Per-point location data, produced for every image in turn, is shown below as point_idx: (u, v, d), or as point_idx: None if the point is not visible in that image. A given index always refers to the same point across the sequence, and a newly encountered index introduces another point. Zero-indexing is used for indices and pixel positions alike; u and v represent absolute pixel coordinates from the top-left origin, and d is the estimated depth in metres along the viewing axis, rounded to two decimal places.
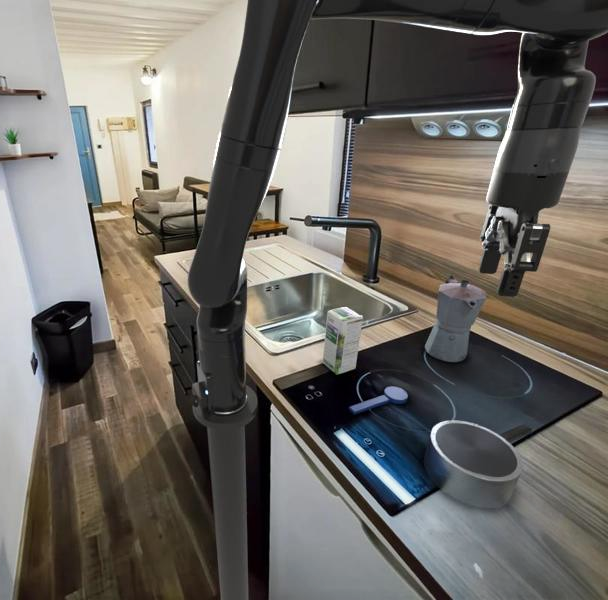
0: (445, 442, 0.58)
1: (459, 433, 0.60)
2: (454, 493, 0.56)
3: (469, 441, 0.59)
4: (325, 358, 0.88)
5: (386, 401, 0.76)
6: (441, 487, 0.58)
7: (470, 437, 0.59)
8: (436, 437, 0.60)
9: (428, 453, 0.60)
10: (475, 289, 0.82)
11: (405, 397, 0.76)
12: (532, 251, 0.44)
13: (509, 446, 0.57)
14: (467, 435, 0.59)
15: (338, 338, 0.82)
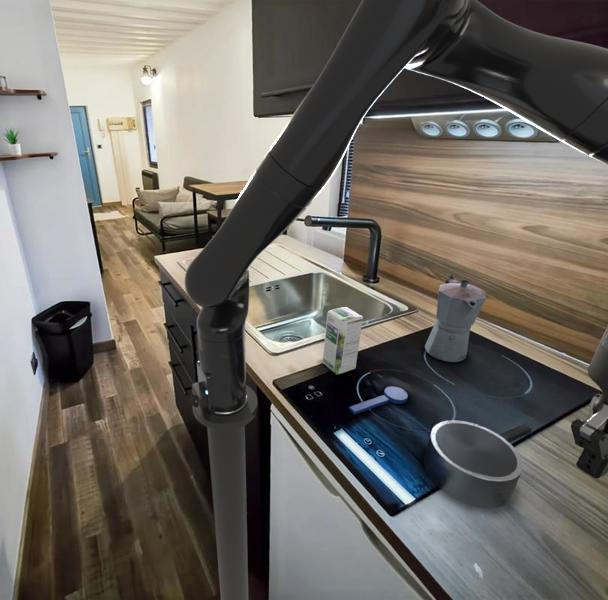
0: (445, 442, 0.58)
1: (459, 433, 0.60)
2: (454, 493, 0.56)
3: (469, 441, 0.59)
4: (325, 358, 0.88)
5: (386, 401, 0.76)
6: (441, 487, 0.58)
7: (470, 437, 0.59)
8: (436, 437, 0.60)
9: (428, 453, 0.60)
10: (475, 289, 0.82)
11: (405, 397, 0.76)
12: (588, 445, 0.40)
13: (509, 446, 0.57)
14: (467, 435, 0.59)
15: (338, 338, 0.82)
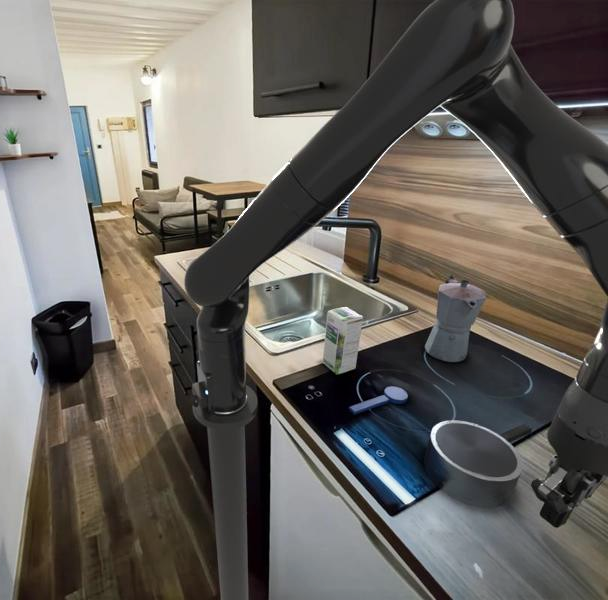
0: (445, 442, 0.58)
1: (459, 433, 0.60)
2: (454, 493, 0.56)
3: (469, 441, 0.59)
4: (325, 358, 0.88)
5: (386, 401, 0.76)
6: (441, 487, 0.58)
7: (470, 437, 0.59)
8: (436, 437, 0.60)
9: (428, 453, 0.60)
10: (475, 289, 0.82)
11: (405, 397, 0.76)
12: (546, 501, 0.45)
13: (509, 446, 0.57)
14: (467, 435, 0.59)
15: (338, 338, 0.82)
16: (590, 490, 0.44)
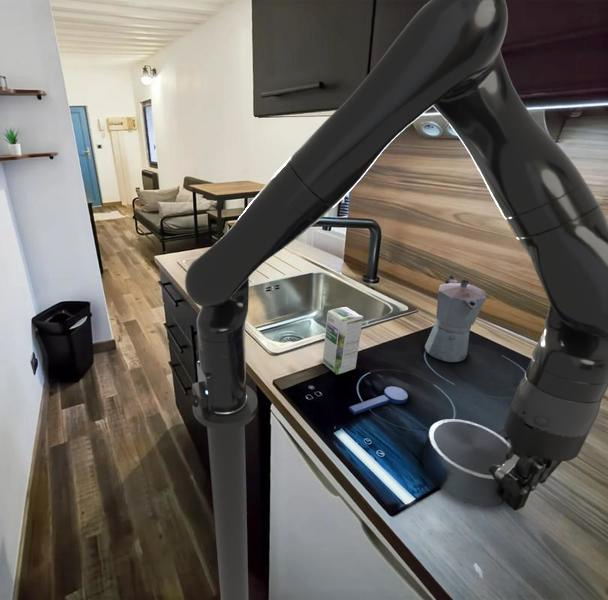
0: (443, 441, 0.59)
1: (457, 432, 0.60)
2: (453, 492, 0.56)
3: (467, 440, 0.59)
4: (325, 358, 0.88)
5: (386, 401, 0.76)
6: (440, 486, 0.58)
7: (468, 435, 0.60)
8: (434, 435, 0.60)
9: (426, 452, 0.60)
10: (475, 289, 0.82)
11: (405, 397, 0.76)
12: (503, 485, 0.49)
13: (506, 444, 0.57)
14: (465, 434, 0.60)
15: (338, 338, 0.82)
16: (542, 475, 0.49)
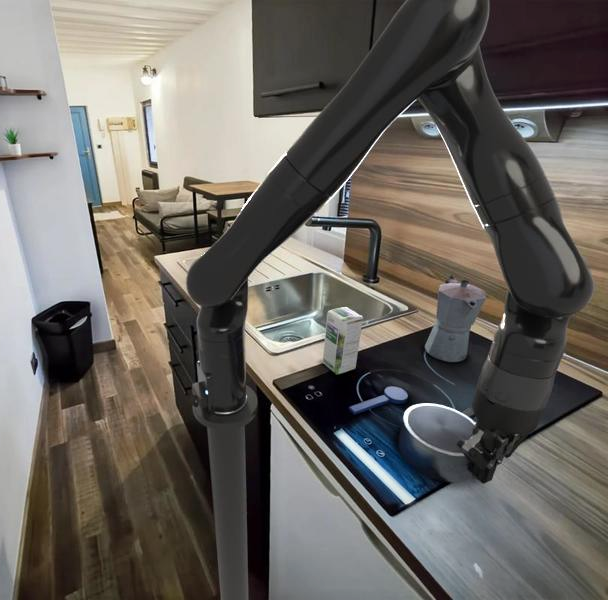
0: (417, 425, 0.62)
1: (428, 415, 0.64)
2: (429, 472, 0.60)
3: (438, 421, 0.63)
4: (325, 358, 0.88)
5: (386, 401, 0.76)
6: (416, 467, 0.61)
7: (438, 417, 0.63)
8: (409, 420, 0.63)
9: (402, 437, 0.64)
10: (475, 289, 0.82)
11: (405, 397, 0.76)
12: (470, 459, 0.53)
13: (472, 423, 0.62)
14: (435, 416, 0.64)
15: (338, 338, 0.82)
16: (506, 449, 0.53)
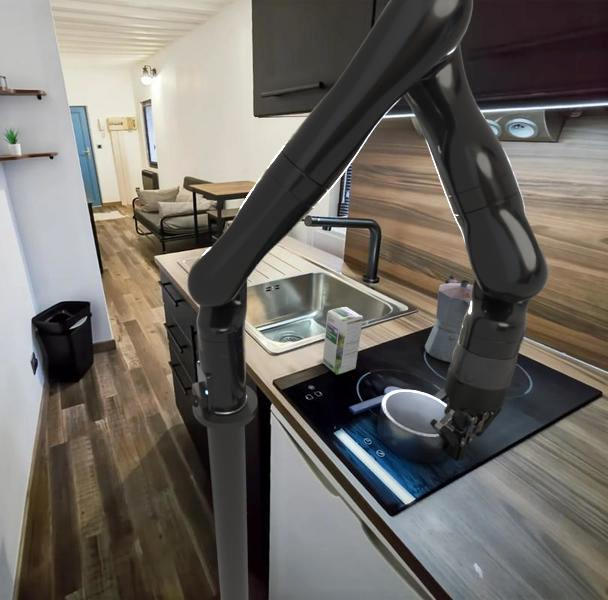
0: (395, 410, 0.65)
1: (404, 400, 0.68)
2: (408, 454, 0.63)
3: (413, 406, 0.66)
4: (325, 358, 0.88)
5: None
6: (396, 451, 0.64)
7: (413, 402, 0.67)
8: (387, 407, 0.67)
9: (381, 423, 0.67)
10: None
11: None
12: (443, 437, 0.57)
13: (444, 405, 0.66)
14: (410, 401, 0.67)
15: (338, 338, 0.82)
16: (476, 427, 0.57)
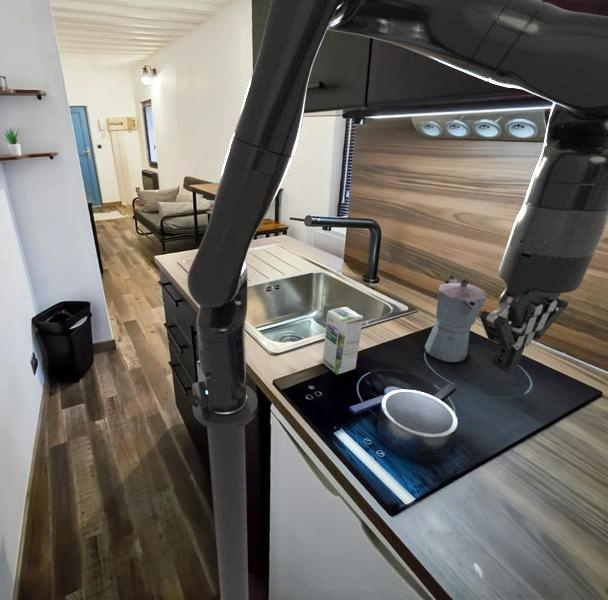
0: (394, 410, 0.65)
1: (404, 400, 0.68)
2: (408, 454, 0.63)
3: (413, 406, 0.66)
4: (325, 358, 0.88)
5: None
6: (396, 451, 0.64)
7: (413, 402, 0.67)
8: (386, 407, 0.67)
9: (381, 423, 0.67)
10: (475, 289, 0.82)
11: None
12: (495, 334, 0.45)
13: (443, 405, 0.66)
14: (410, 401, 0.67)
15: (338, 338, 0.82)
16: (538, 323, 0.45)
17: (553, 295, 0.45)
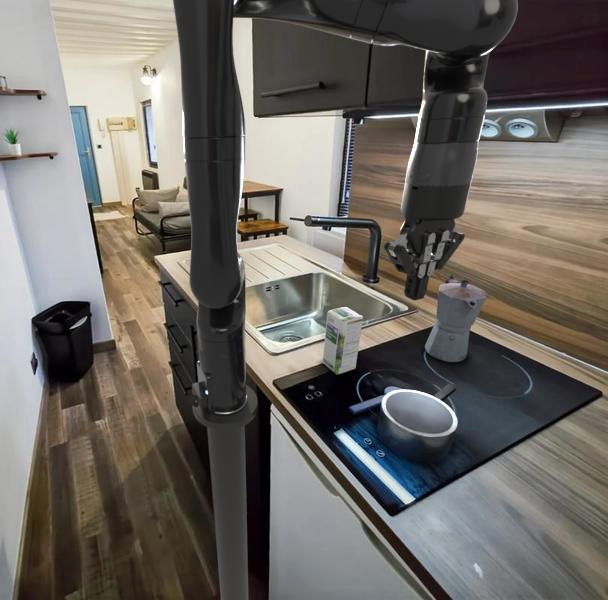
0: (394, 410, 0.65)
1: (404, 400, 0.68)
2: (408, 454, 0.63)
3: (413, 406, 0.66)
4: (325, 358, 0.88)
5: None
6: (396, 451, 0.64)
7: (413, 402, 0.67)
8: (386, 407, 0.67)
9: (381, 423, 0.67)
10: (475, 289, 0.82)
11: None
12: (398, 264, 0.51)
13: (443, 405, 0.66)
14: (410, 401, 0.67)
15: (338, 338, 0.82)
16: (436, 252, 0.51)
17: (447, 227, 0.50)
